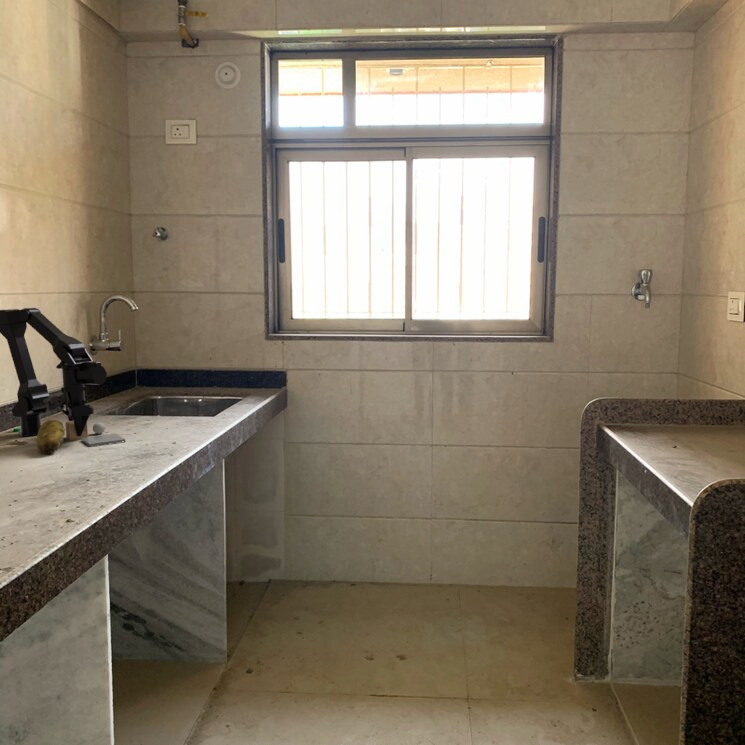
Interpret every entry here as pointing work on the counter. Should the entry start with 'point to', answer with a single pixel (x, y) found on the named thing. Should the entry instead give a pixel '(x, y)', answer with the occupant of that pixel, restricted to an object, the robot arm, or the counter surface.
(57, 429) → the potato
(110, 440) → the slate board
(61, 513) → the counter surface
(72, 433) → the tan block
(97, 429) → the grey ball
